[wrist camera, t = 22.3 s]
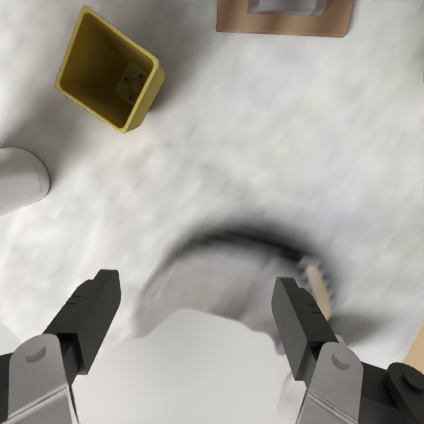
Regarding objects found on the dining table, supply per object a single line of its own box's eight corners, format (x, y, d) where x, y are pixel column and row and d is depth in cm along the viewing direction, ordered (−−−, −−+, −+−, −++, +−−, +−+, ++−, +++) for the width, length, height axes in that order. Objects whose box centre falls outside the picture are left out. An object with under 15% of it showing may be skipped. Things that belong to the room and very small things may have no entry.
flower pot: (96, 97, 33) (51, 87, 25) (122, 36, 30) (82, 1, 22) (148, 133, 34) (123, 135, 26) (178, 78, 32) (160, 60, 23)
